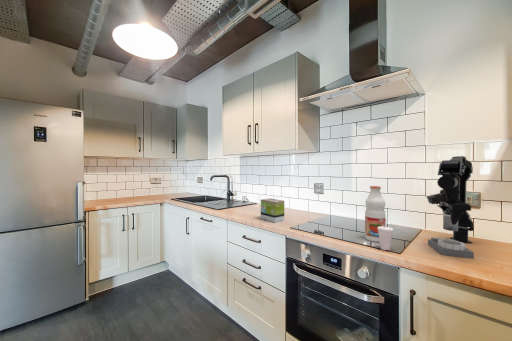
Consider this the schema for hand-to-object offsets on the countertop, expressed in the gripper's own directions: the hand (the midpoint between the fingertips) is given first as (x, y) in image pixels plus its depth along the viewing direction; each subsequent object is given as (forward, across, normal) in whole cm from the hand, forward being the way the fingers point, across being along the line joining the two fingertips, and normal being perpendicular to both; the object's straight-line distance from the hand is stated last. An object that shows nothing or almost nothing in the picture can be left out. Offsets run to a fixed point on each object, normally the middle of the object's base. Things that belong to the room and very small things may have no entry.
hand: (450, 223), depth 97 cm
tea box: (+13, -30, -91) cm, 97 cm away
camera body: (+13, -2, 0) cm, 13 cm away
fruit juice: (+13, -8, -29) cm, 33 cm away
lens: (+3, 0, 0) cm, 3 cm away
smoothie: (+13, +6, -27) cm, 31 cm away
